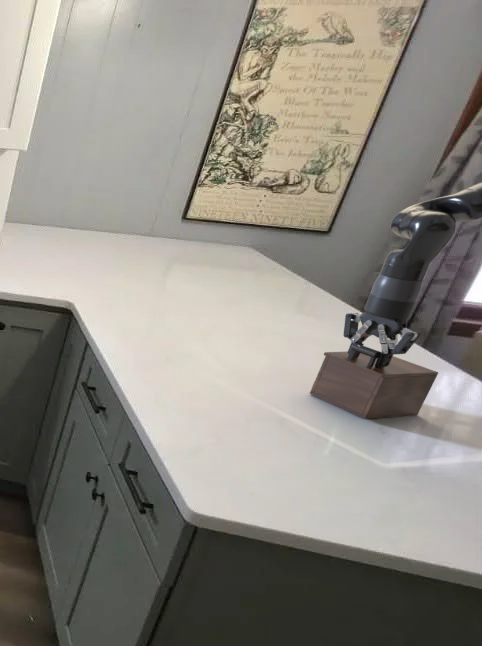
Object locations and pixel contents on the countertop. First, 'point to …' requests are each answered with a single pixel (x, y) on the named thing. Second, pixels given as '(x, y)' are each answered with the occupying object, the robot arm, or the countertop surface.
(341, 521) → the countertop surface
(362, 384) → the chest
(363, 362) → the lid
